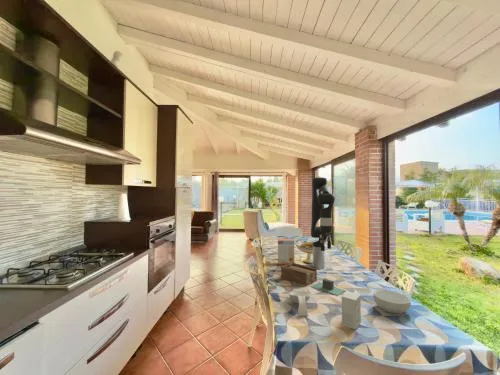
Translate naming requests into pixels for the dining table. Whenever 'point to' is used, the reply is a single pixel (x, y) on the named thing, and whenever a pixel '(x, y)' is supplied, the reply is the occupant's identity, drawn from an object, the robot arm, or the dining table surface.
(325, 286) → the cover plate
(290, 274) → the lid box
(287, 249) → the cracker box
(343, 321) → the small box
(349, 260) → the dining table surface
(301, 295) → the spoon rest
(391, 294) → the cereal bowl
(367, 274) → the dining table surface
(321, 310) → the dining table surface
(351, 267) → the dining table surface
